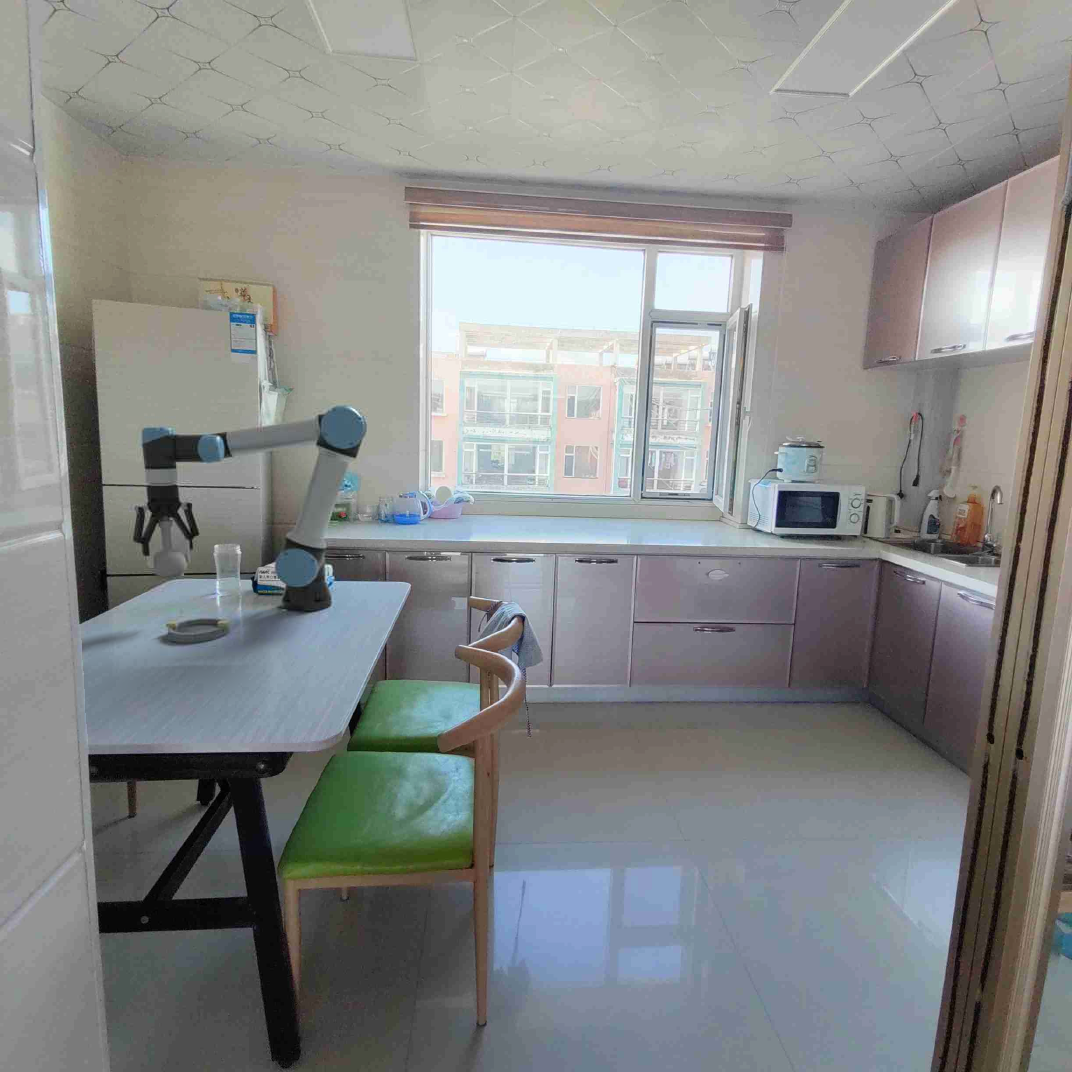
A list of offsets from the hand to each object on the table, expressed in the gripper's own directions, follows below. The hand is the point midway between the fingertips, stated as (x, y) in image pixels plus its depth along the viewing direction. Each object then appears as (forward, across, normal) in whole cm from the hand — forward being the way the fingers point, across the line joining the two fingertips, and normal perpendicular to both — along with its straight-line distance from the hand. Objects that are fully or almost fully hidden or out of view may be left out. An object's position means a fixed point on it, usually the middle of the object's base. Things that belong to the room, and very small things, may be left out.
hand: (169, 564), depth 172 cm
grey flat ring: (+17, 0, +14) cm, 23 cm away
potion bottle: (+4, 0, 0) cm, 4 cm away
